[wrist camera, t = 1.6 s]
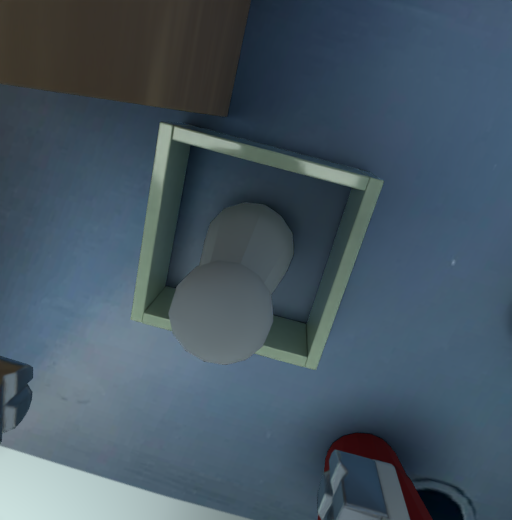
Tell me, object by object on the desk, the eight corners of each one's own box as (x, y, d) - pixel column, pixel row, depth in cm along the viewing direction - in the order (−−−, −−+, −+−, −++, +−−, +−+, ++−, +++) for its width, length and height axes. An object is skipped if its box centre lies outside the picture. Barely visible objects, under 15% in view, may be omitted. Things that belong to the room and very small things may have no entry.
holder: (154, 292, 29) (130, 320, 25) (182, 122, 25) (159, 121, 21) (313, 335, 29) (316, 370, 25) (369, 171, 25) (384, 180, 21)
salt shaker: (253, 178, 26) (213, 223, 13) (311, 238, 27) (323, 331, 14) (196, 236, 27) (115, 323, 15) (252, 290, 28) (219, 413, 16)
